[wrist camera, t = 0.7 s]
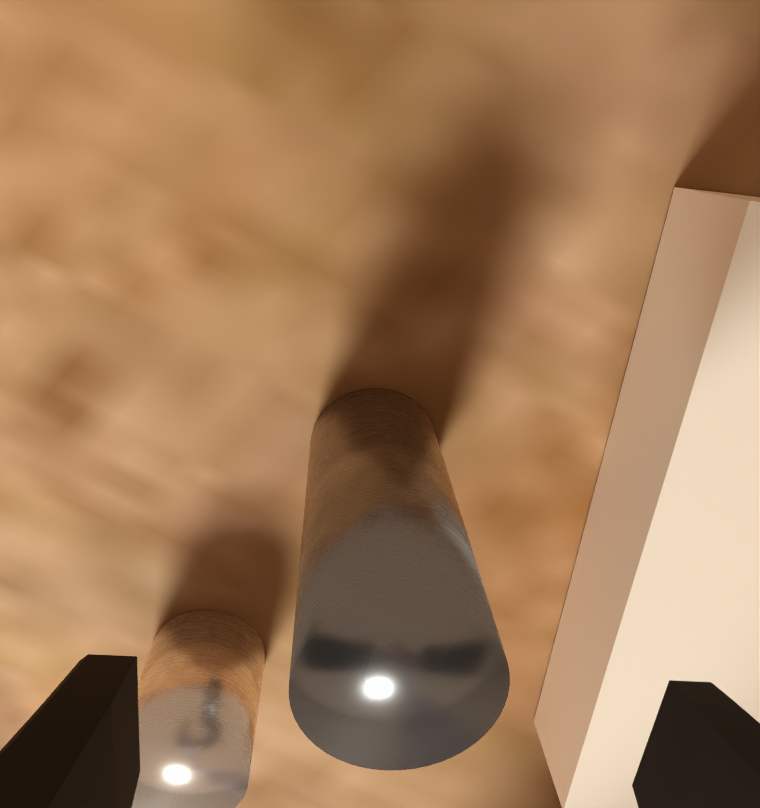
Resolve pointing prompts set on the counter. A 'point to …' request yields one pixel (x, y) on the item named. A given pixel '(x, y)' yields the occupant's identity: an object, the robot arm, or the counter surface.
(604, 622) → the hole block
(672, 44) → the counter surface
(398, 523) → the tall pin
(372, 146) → the counter surface
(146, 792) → the short pin
